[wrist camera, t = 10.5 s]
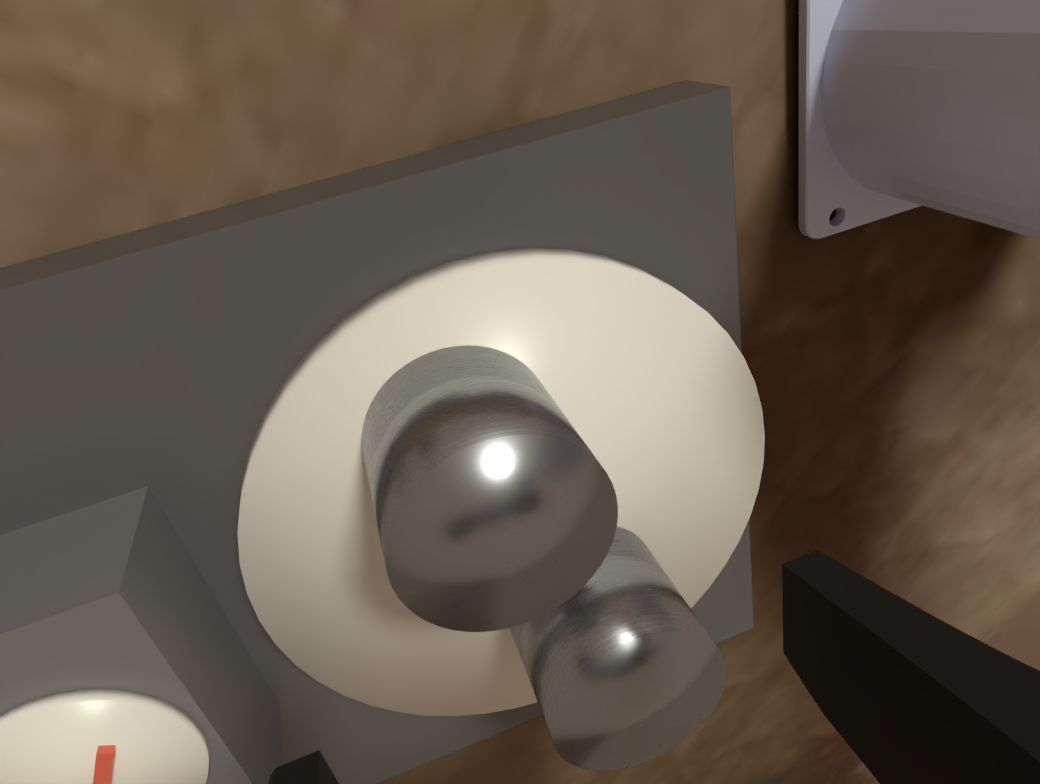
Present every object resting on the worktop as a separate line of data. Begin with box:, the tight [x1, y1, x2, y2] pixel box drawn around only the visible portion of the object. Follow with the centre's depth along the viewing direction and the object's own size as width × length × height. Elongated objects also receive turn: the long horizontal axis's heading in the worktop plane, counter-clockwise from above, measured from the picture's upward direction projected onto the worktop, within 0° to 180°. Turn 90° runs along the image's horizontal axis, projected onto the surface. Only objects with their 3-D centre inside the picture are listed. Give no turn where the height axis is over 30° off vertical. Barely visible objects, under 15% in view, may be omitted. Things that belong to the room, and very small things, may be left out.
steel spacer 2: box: [510, 526, 727, 771], centre depth 18 cm, size 4×4×4 cm
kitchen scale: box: [0, 80, 765, 784], centre depth 18 cm, size 20×18×6 cm
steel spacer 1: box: [362, 345, 618, 632], centre depth 15 cm, size 4×4×4 cm
